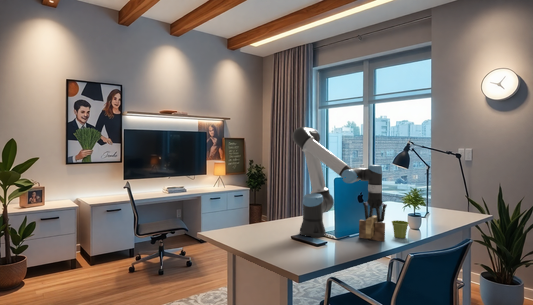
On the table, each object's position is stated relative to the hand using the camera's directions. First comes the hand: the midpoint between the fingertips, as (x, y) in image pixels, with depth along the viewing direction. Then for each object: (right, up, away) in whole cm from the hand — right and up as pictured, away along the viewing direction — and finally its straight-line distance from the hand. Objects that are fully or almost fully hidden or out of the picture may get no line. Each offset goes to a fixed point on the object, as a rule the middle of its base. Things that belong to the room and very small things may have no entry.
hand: (374, 232), depth 204 cm
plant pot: (+15, -3, +1) cm, 15 cm away
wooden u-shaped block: (-3, -3, -4) cm, 5 cm away
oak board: (-2, -1, -4) cm, 5 cm away
